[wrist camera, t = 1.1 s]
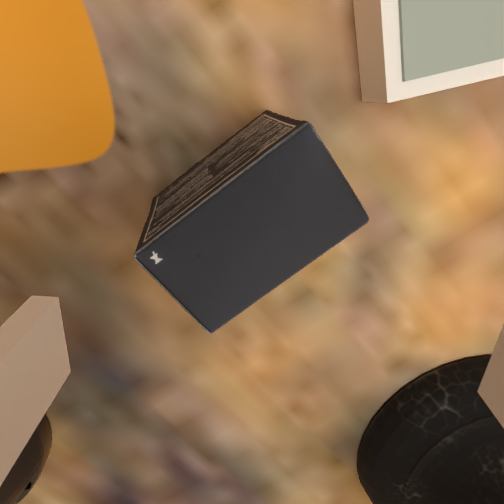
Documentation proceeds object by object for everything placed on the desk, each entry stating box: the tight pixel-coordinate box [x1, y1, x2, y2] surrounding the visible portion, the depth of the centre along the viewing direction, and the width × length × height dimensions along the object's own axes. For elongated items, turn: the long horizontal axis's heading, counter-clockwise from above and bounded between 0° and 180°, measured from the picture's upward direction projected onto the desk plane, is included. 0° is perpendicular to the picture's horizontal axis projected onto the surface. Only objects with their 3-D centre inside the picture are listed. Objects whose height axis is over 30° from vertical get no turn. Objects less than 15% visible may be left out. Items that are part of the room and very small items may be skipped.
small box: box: [134, 110, 369, 333], centre depth 24 cm, size 11×6×10 cm, turn 126°
